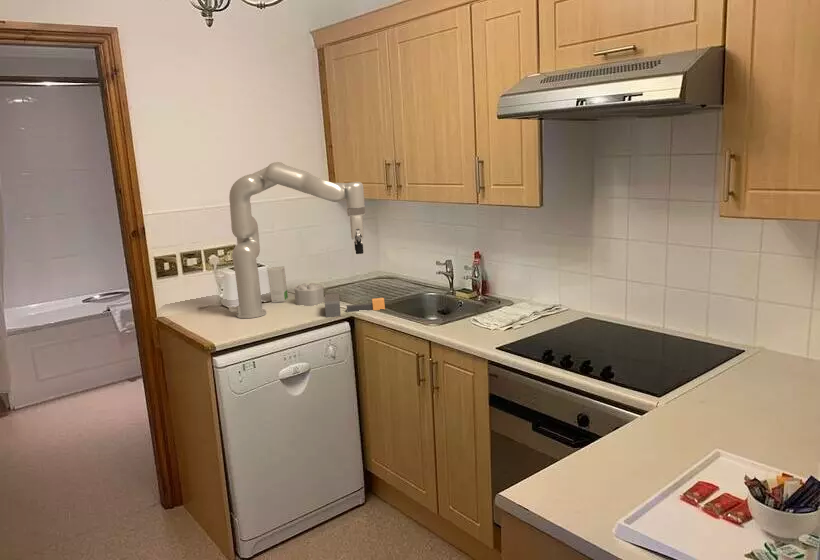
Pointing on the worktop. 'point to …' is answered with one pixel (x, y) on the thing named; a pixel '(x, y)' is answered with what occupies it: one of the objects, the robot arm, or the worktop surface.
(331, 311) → the block
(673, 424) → the worktop surface
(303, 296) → the lumpy-topped squat cylinder
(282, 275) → the skincare box
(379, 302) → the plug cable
